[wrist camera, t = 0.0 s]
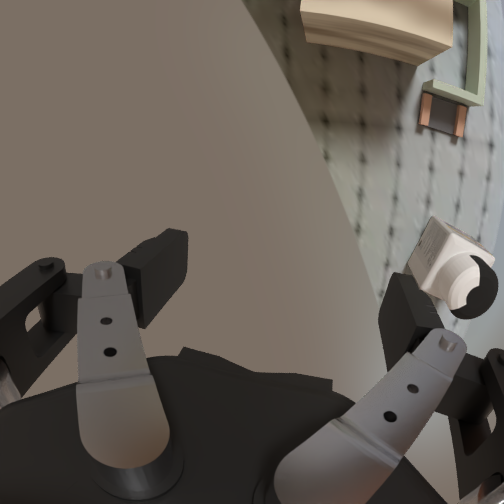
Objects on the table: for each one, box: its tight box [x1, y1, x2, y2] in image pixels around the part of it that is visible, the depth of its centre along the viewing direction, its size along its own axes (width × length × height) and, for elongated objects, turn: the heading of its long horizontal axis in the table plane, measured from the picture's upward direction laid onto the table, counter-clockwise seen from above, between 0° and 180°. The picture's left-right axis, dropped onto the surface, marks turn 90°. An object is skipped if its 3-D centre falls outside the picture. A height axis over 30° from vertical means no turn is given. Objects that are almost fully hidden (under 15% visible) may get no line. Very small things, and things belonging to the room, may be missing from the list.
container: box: [408, 216, 498, 319], centre depth 33 cm, size 8×8×13 cm
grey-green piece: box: [418, 0, 487, 137], centre depth 26 cm, size 25×7×4 cm, turn 173°
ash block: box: [300, 0, 453, 66], centre depth 24 cm, size 10×14×12 cm
